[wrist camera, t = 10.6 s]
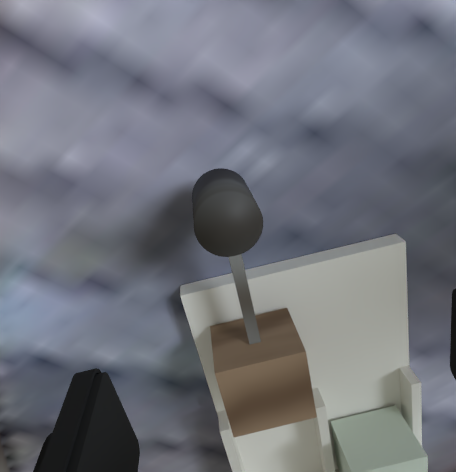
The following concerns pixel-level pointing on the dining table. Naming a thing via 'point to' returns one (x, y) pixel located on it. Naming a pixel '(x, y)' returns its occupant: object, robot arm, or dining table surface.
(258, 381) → the joystick
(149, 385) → the dining table surface
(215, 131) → the dining table surface
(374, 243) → the white joystick tray
